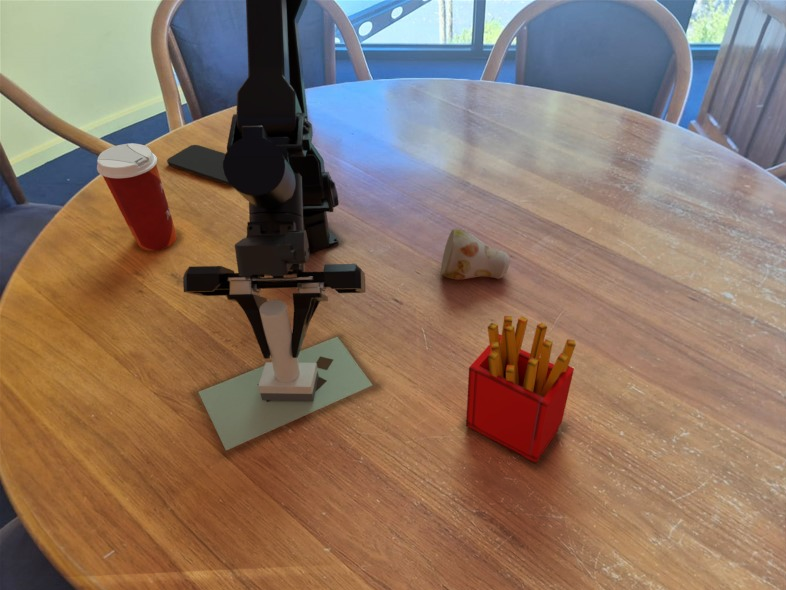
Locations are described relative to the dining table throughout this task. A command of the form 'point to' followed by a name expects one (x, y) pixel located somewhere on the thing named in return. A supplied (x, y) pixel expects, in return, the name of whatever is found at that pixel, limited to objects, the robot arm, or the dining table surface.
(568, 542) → the dining table surface
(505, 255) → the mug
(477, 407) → the french fries container
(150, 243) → the paper cup
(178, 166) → the phone
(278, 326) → the white peg on base
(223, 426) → the mat
